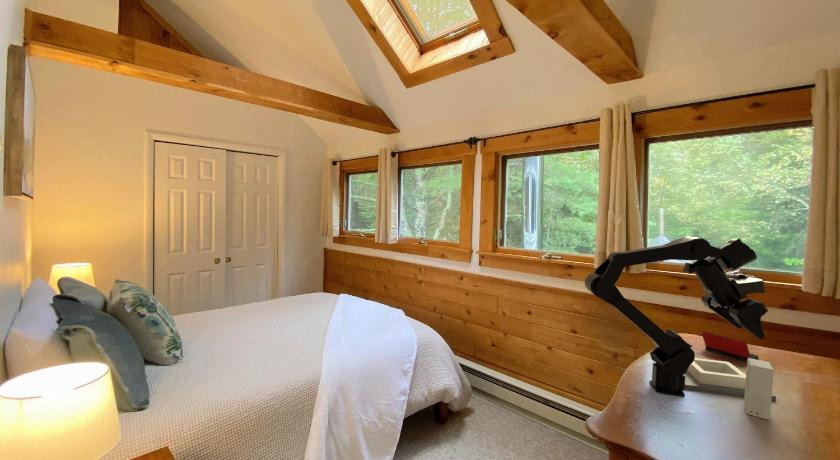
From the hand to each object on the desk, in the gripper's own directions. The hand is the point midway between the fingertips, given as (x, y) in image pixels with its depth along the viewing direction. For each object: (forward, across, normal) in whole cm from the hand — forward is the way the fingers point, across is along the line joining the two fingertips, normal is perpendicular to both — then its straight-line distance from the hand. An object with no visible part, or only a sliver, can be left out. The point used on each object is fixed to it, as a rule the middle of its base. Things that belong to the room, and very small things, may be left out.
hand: (751, 333), depth 93 cm
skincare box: (+14, -6, +11) cm, 19 cm away
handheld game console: (+21, +35, -1) cm, 41 cm away
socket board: (+13, +10, +12) cm, 20 cm away
